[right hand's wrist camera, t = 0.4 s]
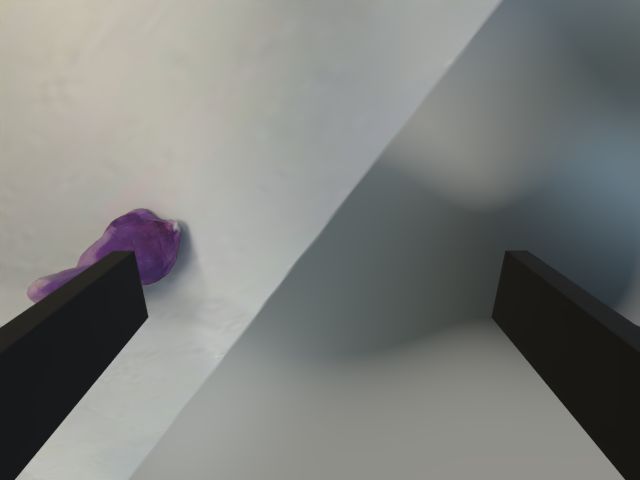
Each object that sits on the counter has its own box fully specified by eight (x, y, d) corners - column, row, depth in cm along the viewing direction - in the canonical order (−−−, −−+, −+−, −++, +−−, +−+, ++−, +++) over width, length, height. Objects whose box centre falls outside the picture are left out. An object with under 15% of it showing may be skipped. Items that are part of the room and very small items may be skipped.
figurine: (104, 275, 43) (1, 355, 29) (105, 198, 40) (-11, 247, 26) (180, 290, 44) (115, 375, 30) (187, 216, 41) (117, 273, 26)
